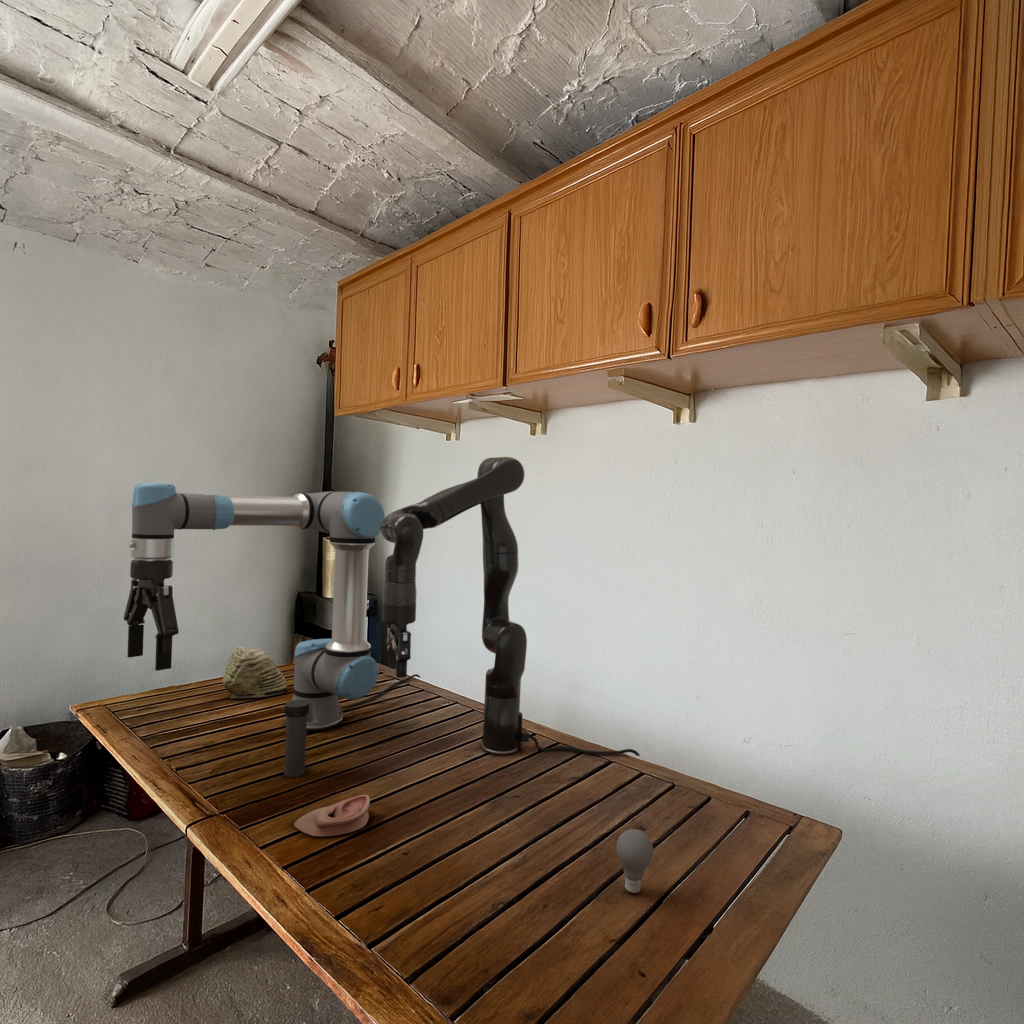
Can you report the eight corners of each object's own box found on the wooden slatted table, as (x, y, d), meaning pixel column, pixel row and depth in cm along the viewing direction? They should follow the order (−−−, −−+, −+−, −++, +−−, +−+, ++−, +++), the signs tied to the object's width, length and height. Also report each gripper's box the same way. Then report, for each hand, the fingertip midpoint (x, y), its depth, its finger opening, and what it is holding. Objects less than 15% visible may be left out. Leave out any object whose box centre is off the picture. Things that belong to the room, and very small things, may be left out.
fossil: (218, 695, 195) (220, 647, 195) (278, 685, 208) (279, 640, 207) (228, 703, 189) (230, 653, 188) (289, 692, 201) (290, 645, 201)
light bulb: (610, 879, 108) (613, 822, 108) (644, 879, 109) (647, 822, 109) (619, 902, 102) (622, 840, 102) (655, 901, 103) (658, 840, 103)
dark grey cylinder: (281, 776, 142) (283, 708, 142) (288, 768, 147) (291, 701, 146) (300, 777, 142) (303, 709, 142) (307, 769, 147) (310, 702, 146)
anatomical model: (285, 811, 119) (316, 784, 130) (285, 832, 119) (316, 803, 130) (351, 821, 116) (377, 793, 127) (350, 842, 116) (376, 813, 128)
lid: (281, 716, 142) (281, 706, 142) (289, 708, 147) (290, 699, 147) (304, 717, 142) (304, 707, 142) (312, 709, 147) (312, 700, 147)
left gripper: (108, 554, 134) (104, 654, 134) (159, 565, 118) (155, 678, 119) (146, 552, 140) (143, 648, 140) (199, 563, 124) (195, 671, 124)
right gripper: (423, 605, 138) (421, 679, 138) (408, 595, 151) (406, 663, 152) (389, 607, 135) (386, 682, 135) (377, 596, 148) (374, 665, 149)
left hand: (148, 662), depth 129 cm, fingers open, 13 cm apart
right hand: (397, 672), depth 144 cm, fingers open, 8 cm apart
